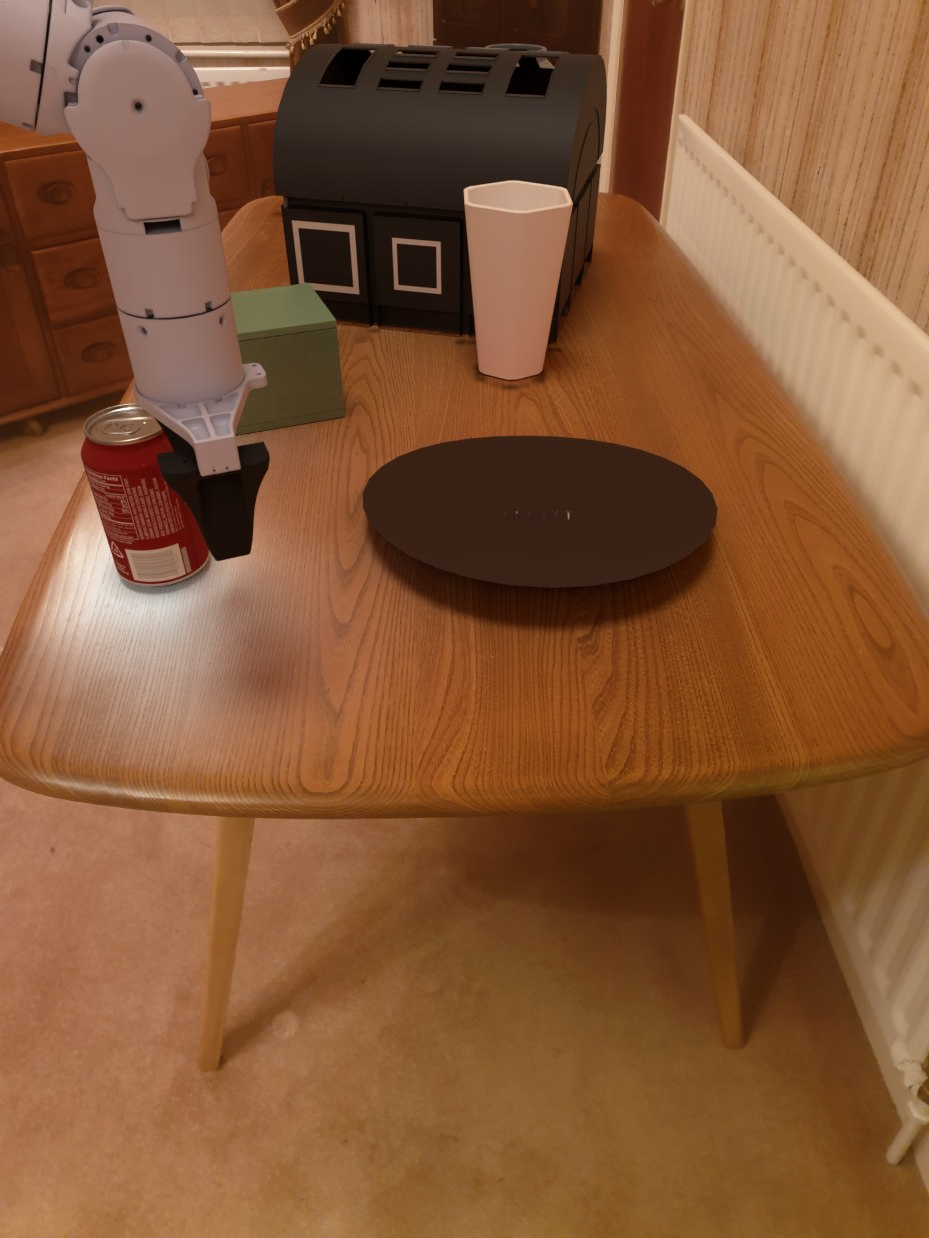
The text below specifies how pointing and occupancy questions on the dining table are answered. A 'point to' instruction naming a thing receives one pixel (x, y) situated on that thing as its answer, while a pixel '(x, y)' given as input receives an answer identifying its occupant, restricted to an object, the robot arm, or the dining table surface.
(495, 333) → the cup
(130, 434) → the soda can
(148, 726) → the dining table surface
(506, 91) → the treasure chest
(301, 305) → the bread bin lid
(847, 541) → the dining table surface
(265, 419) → the bin
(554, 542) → the plate
